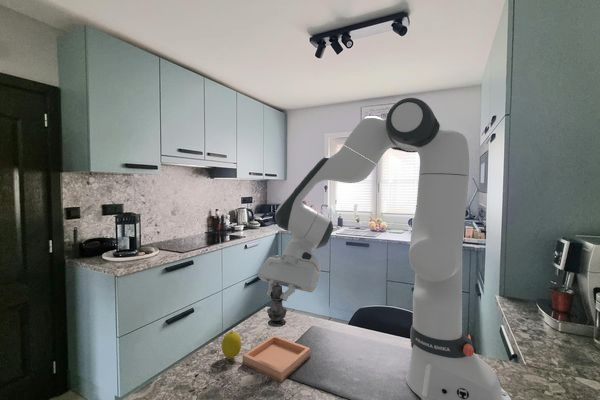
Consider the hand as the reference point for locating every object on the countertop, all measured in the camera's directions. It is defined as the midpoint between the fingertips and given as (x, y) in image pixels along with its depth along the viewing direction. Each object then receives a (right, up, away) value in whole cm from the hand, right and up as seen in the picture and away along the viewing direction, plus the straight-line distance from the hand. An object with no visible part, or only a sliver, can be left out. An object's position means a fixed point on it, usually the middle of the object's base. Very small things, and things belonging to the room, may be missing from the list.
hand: (275, 297), depth 79 cm
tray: (0, -18, 0) cm, 18 cm away
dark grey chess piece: (0, -8, +1) cm, 8 cm away
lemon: (-13, -18, +1) cm, 23 cm away
